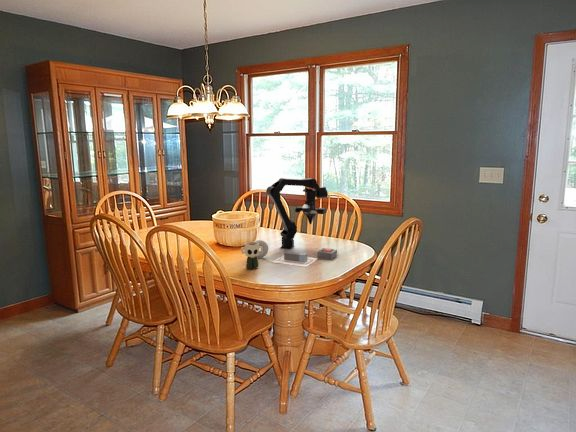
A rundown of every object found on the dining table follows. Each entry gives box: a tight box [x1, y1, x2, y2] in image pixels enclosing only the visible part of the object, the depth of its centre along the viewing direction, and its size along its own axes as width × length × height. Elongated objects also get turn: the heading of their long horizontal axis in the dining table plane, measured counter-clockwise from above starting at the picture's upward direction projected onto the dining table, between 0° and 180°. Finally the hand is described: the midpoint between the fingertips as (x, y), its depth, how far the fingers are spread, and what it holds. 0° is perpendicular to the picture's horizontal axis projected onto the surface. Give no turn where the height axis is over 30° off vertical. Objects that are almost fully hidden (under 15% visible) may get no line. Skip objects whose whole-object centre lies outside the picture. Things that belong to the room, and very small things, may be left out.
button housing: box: [316, 247, 338, 260], centre depth 237 cm, size 8×8×4 cm
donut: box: [254, 239, 269, 259], centre depth 234 cm, size 10×4×10 cm, turn 99°
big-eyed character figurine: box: [240, 241, 263, 270], centre depth 216 cm, size 11×7×13 cm, turn 101°
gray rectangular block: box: [283, 251, 308, 262], centre depth 230 cm, size 12×4×4 cm, turn 64°
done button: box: [323, 248, 332, 253], centre depth 237 cm, size 5×5×4 cm
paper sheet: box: [272, 254, 320, 268], centre depth 230 cm, size 20×17×1 cm
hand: (310, 224), depth 261 cm, fingers closed
